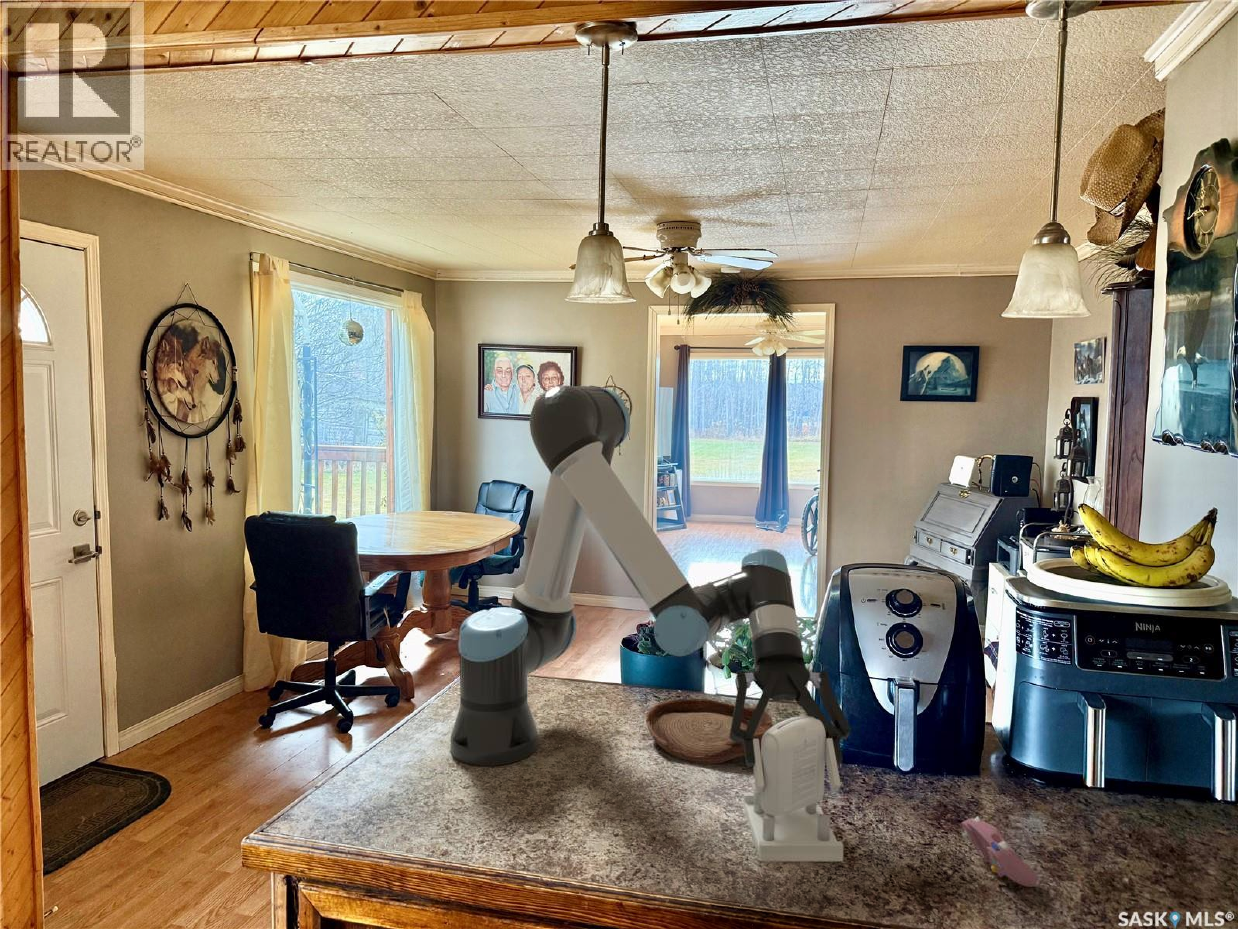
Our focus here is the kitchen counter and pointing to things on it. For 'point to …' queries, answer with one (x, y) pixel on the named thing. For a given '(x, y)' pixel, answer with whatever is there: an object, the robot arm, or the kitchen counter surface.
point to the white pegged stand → (792, 833)
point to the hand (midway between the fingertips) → (798, 789)
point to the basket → (700, 729)
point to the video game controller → (997, 852)
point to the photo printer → (792, 765)
